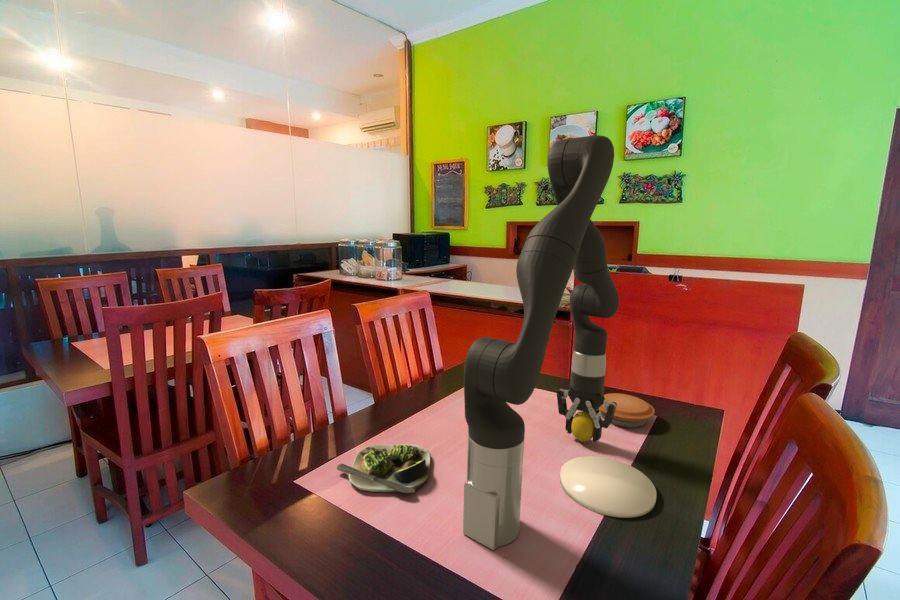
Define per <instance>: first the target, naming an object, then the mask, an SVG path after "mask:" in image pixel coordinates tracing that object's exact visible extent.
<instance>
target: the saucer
mask: <svg viewBox="0 0 900 600" xmlns="http://www.w3.org/2000/svg"><path fill="white" fill-rule="evenodd" d="M559 475H560V476H559V483H560V485H561V487H562V490H563V491H564V492H565V494H566V495H567V496H568V497H569V498H571V500H573V501H574V502H576V503H577V504H578V505H580V506H582V507H583V508H586V509H587V510H589V511H591V512H594V513H598V514H601V515H604V516H608V517H612V518H620V519H621V518H623V519H625V518H626V519H627V518H632V519H633V518H637V517H642V516H644V515H647V514H648V513H650V512H651V511H652V510H653V509H654V507H655V505H656V502H657V489H656V487H655V485H654V484H653V482H652V481H651V479H650V478H649V477H648V476H646V474H644V473H643V472H642V471H640V470H638V469H637V468H635V467H633V466H631V465H629V464H628V463H625V462H622V461H619V460H616V459H613V458H609V457H605V456H604V457H603V456H596V455H595V456H593V455H587V456H579V457H575V458H572V459H570V460H568V461H566V462H565V463H564V464H563V465H562V467H561V468H560V474H559Z"/></svg>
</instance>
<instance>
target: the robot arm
mask: <svg viewBox="0 0 900 600" xmlns="http://www.w3.org/2000/svg"><path fill="white" fill-rule="evenodd" d="M614 147H615V146H614V144H613V141H612V140H611V139H610V138H609V137H608V136H604V135H596V134H595V135H588V136H579V137H571V138H564V139H559V140H556V141H555V142H554V143H553V144H552V145H551V146H550V148H549V152H548V155H547V173H548V177H549V181H550V186H551V189H552V193H553V195H554V198H555V201H556V204H557V206H556V207H554V208H553V209H552V210H551V211H549V212H548V213H547V214H546V215H544V217H543V218H542V219H541V220H540V221H538V222H537V223H536V225H534V227H532V229H531V230H530V232H529V234H528V235H527V237H526V239H525V242H524V244H523V247H522V249H521V252H520V254H519V256H518V260H517V262H516V273H515V274H516V280H517V285H518V290H519V293H520V296H521V301H522V305H523V306H522V307H523V322H522V326H521V330H520V333H519V335H518V338H517V340H516V342H513V341H508V340H504V339H499V338H494V337H490V336H489V337H488V336H482V337H479V338H477V339H476V340H474V341H473V343H472V344H471V346H469V348H468V351H467V354H466V356H465V361H464V367H463V393H464V394H463V395H464V396H463V397H464V399H463V400H464V419H465V422H466V424H467V428H468V430H467V435H468V436H467V460H466V461H467V465H466V467H467V469H466V480H465V482H464V484H463V487H464V488H463V512H462V513H463V515H462V516H463V517H462V519H463V520H462V534H464V535H465V536H467V537H469V538H471V539H472V540H474V541H476V542H477V543H479V544H481V545H482V546H485V547H486V548H488V549H490V550H492V551H495V550H496V549H497V548H498V547H502V546H506V545H509V544H511V543H512V542H513V541H515V540H516V539H517V538H518V535H519V534H520V523H521V522H520V521H521V503H522V502H521V501H522V487H523V486H522V485H523V483H522V482H523V467H524V451H525V433H526V432H525V431H526V427H525V426H526V424H525V421H524V418H522V416H521V415H520V414H519V413H518V411H516V410H515V409H513V408H512V407H511V406H510V405H515V406H519V405H523V404H525V403H526V402H527V401H528V400H529V398H530V397H531V396H532V394H533V392H534V391H535V389H536V386H537V384H538V381H539V377H540V375H541V371H542V368H543V364H544V361H545V356H546V353H547V349H548V348H547V347H548V345H549V340H550V337H551V332H552V330H553V329H552V328H553V325H554V322H555V319H556V316H557V313H558V310H559V308H560V304H561V301H562V298H563V296H564V293H565V291H566V288H567V285H568V282H569V280H570V278H571V275H572V273H573V275H574V279H575V280H576V281H578V282H580V283H579V284H577V285H576V286H574V287H573V288H572V291H571V292H570V295H569V308H570V312H571V316H572V321H573V327H574V328H573V329H574V345H573V353H572V357H571V358H572V359H571V370H570V383H569V384H570V385H569V389H565V388H564V387H561V388H559V390H557V391H556V397H557V406H558V407H557V408H558V410H557V411H558V414H559V415H561V416H564V417H565V428H564V429H565V431H567V433H566V434H568V435H571V434H573V433H572V429H571V424H572V420H573V417H574V416H575V415H576V413H577V411H578V412H583V411H585V412H586V413H589V414H590V416H591V419H593V422H594V425H595V427H594V429H593V437H592V442H594V443H597V442H598V441H599V440H600V439H601V437H602V432H603V431H602V430H603V429H607V428H609V426H610V425H611V424H612V423H611V422H612V419H613V416H614V413H615V409H616V406H617V403H616V402H612V403H611V402H609V401H607V400H605V398H604V395H605V394H604V391H605V380H606V379H605V378H606V372H607V357H606V356H607V353H606V352H607V346H608V345H607V342H608V331H607V329H606V328H604V327H602V326H600V325H597V324H595V323H594V322H593V321H592V320H591V318H590V317H596V318H600V319H601V318H602V319H610V318H612V317H614V316H615V315H616V314H617V312H618V311H619V307H620V296H619V293H618V290H617V287H616V285H615V283H614V281H613V278H612V276H611V273H610V271H609V268H608V261H607V258H608V257H607V249H606V243H605V240H604V237H603V235H602V233H601V231H600V230H599V228H598V227H597V225H596V224H595V223H594V222H593V220H592V219H591V218H592V216H593V213H594V211H595V210H596V207H597V205H598V203H599V200H600V199H601V197H602V195H603V192H604V190H605V188H606V187H607V184H608V181H609V179H610V176H611V175H612V170H613V167H614V162H615V148H614ZM567 398H569V399H570V402H572V404H571V405H570V407H569V409H568V403H567ZM509 404H510V405H509ZM602 404H603V405H604V406H605V410H606V411H607V413H606V416H605V419H604V418H602V416H601V411H600V408H599V407H600V406H601V405H602Z"/></svg>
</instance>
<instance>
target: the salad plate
mask: <svg viewBox="0 0 900 600" xmlns="http://www.w3.org/2000/svg"><path fill="white" fill-rule="evenodd" d="M431 463H432V457H431V452H430V451H429V450H428V449H427V448H425V447H424V446H421V445H420V444H413V443H412V444H411V443H407V444H405V443H404V444H388V443H385V444H383V443H382V444H378V443H377V444H371V445H369V446H365V447H364V448H362V449H360V450H359V451H358V452H357V453H356V456H355V458H354V460H353V463H352V464H351V466H349V465H348V464H344V463H339V464H337V466H336V470H337V471H338V472H339V471H340V472H341V473H343V474H346V475H347V476H348V477H347V478H348V481H349V483H351V485H353V486H354V487H356V488H357V489H359V490H361V491H365V492H372V493H373V492H374V493H376V492H377V493H378V492H379V493H395V494H413V493H416V490H419V489H420V488H422V487H423V486H425V484H426V483H427V481H428V480H429V477H430V474H431Z"/></svg>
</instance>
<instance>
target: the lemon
mask: <svg viewBox="0 0 900 600" xmlns="http://www.w3.org/2000/svg"><path fill="white" fill-rule="evenodd" d="M594 427H595V425H594V422H593V419H591V416H590V413H586V412H585V411H578V412H576V413H575V414H574V415H573V420H572V424H571V429H572V433H571V434H573V437H574V438H576V439H577V440H578V441H580V443H584V442H588V441H590V440H592V439H593V429H594Z"/></svg>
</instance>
